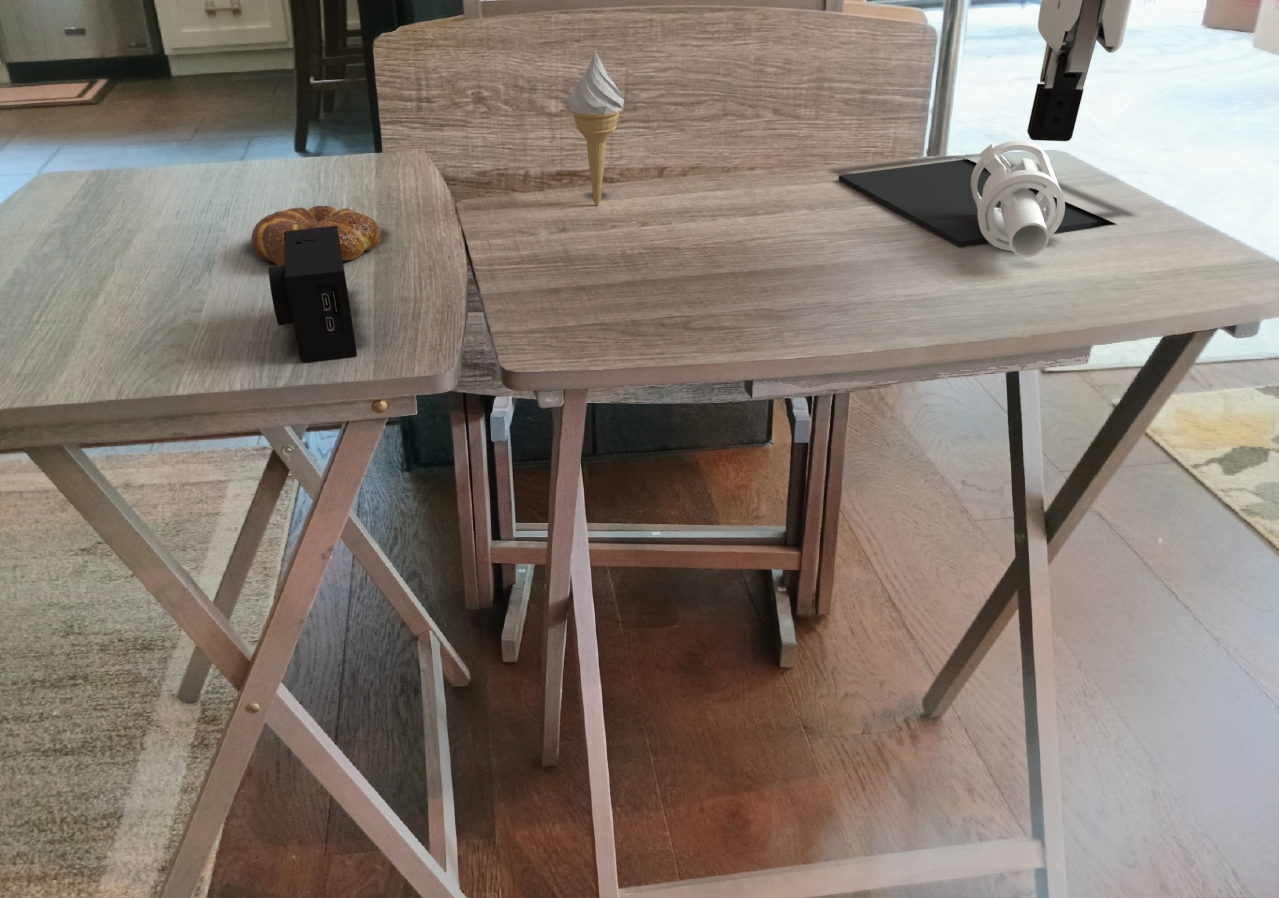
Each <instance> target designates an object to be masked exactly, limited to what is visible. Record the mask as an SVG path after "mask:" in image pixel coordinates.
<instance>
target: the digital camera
mask: <svg viewBox="0 0 1279 898" xmlns="http://www.w3.org/2000/svg"><path fill="white" fill-rule="evenodd" d="M284 260H285V265H281V266H278V265H273V266H268V280H269V288H270V295H271V298H272V299H271V300H272V305H273V310H274V315H275V319H276V322H277V325H278V326H279V327H280V326H287V325H293V328H294V332H295V338H296V345H297V350H298V355H299V360H300V362H301V363H309V362H317V361H325V360H334V359H341V358H342V359H343V358H351V357H357V356H358V351H357V346H356V345H357V344H356V339H355V332H354V331H355V330H354V324H353V317H352V311H351V303H350V298H349V292H348V284H347V278H346V273H345V272H346V271H345V265H344V261H343V259H342V252H341V246H340V239H339V233H338V227H337V226H330V227H320V228H311V229H301V230H291V231H285V232H284Z"/></svg>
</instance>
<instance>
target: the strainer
mask: <svg viewBox="0 0 1279 898" xmlns="http://www.w3.org/2000/svg"><path fill="white" fill-rule="evenodd" d="M1013 151H1023V152H1029V153H1031V154H1033V155H1035V156H1036V157H1037V160H1038V162H1036V161H1035V160H1034V159H1031V158H1027V157H1022V160H1021V161H1019V162H1017V163H1016V164H1014V166H1012V165H1011V163H1010V162H1009V161H1008V159H1006V157H1005V156H1003V155H1002V154H1004V153H1009V152H1013ZM980 155H981V157H980V159H979V160H978V161H977V162H976V163H977V164H976V166H975V168H974V170H973V173H972V177H971V190H972V194H973V198H974V200H975V202H976V204H977V209H978V213H977V215H978V222H979V227H980V230H981V232H982V234H983V236H984V237H985V238H986V240H987V241H988V242H990V243H989V244H991V245H992V246H993V247H996V248H998V249H1001V250H1004V251H1010V252H1012V253H1013V254H1014V255H1016V256H1018V257H1021V258H1030V257H1034V256H1036V255H1039V254H1040V253H1042V252H1043V251H1044V250H1045V249H1046V247H1047V246H1048V243H1049V242H1050V241H1049V240H1050V238H1051V237H1052V236H1053V235H1054V234H1055V233H1054V232H1055V231H1056V230H1057V229H1058V227H1059V226H1060V224H1061V222H1062V219H1063V217H1064V213H1065V202H1066V200H1065V197H1064V194H1063V191H1062V189H1061V186H1060V185H1059V182H1058V179H1057V177H1056V174H1055V173H1054V169H1053V166H1052V163H1051V160H1050V158H1049V156H1048V154H1047V153H1046V152H1045V150H1044V149H1043V148H1042V147H1040V146H1039V145H1037V144H1035V143H1034V142H1030V141H1026V140H1010V141H1006V142H1002V143H1000V144H997V145H995V146H994V145H993V144H990V145H988V146H986V148H984V149H983V150H982V151H981V152H980ZM1011 166H1012V168H1011ZM984 167H985V168H986V169H987V170H988V171H989V172H990V173H991V175H990V176H989V178H988V179H987V181H986V183H985V185H984V188H983V193H982V198H981V197H980V195H979V193H978V191H977V184H978V179H979V176H980V174H981V172H982V170H983V169H984ZM1010 168H1011V169H1010ZM1029 188H1033V189H1036V190H1039V192H1038V193H1037V195H1036V196H1035V194H1034V193H1033V192H1032V191H1030V190H1028V189H1029ZM1053 196H1054V197H1056V198H1057V209H1056V206H1055V201H1054V198H1053ZM999 200H1000V201H1001V207H1000V208H996V207H995V206H996V204H997V203H998V201H999ZM1047 205H1048V206H1047ZM1046 207H1047V209H1046ZM1045 209H1046V210H1045ZM1055 210H1056V212H1055Z"/></svg>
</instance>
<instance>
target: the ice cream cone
mask: <svg viewBox="0 0 1279 898" xmlns="http://www.w3.org/2000/svg"><path fill="white" fill-rule="evenodd" d="M622 97H623V94H622V93H621V91H620V90H619V88H618V87H617V85H616V84H615V82H614V81H613V80H612V79H611V76H610V74H609V73H608V71H607V70H606V68H605V66H604V65H603V62H602V61H601V58H600V56H599V55H598V52H597V51H596V50H595V51H594V53H593V55H592V58H591V60H590V62H589V64H588V66H587V68H586V70H585V71H584V73H583V75H582V76H581V78H580V80H579V81H578V83H577V84H576V86H575V88H574V89H573V90H572V93H571V95H570V96H569V97H568V99H567V102H568V107H569V112H570V113H571V114H572V115H573V116H572V117H573V119H574V123H575V125H576V126H575V128H576V131H577V130H578V131H579V133H581V135H582V136H583V137H584V139H585V141H586V150H587V160H588V166H589V177H590V183H591V191H592V200H593V204H594V205H595V206H599V205H600V203H601V199H602V188H603V181H604V180H603V179H604V171H605V163H606V162H605V160H606V149H607V140H608V138H609V137H610V135H611V134H612V133H613V131H614V130H616V129H617V123H618V120H619V117H620V113H621V112H622V111H623V109H624V104H625V99H624V98H622Z"/></svg>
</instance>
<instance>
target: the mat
mask: <svg viewBox="0 0 1279 898" xmlns="http://www.w3.org/2000/svg"><path fill="white" fill-rule="evenodd" d="M977 163H978V162H976V161H973V160H971V159H968V158H965V159H964V158H963V159H957V160H949V161H940V162H933V163H925V164H924V163H923V164H918V165H909V166H901V167H893V168H885V169H878V170H870V171H862V172H855V173H853V172H852V173H846V174H839V175H838V180H837V181H838V182H840V183H842V184H844V185H845V186H847V187H849V188H851V189H853V190H855V191H857V192H858V193H859V194H862V195H864V196H866V197H867V198H869V199H870V200H872V201H874V202H876V203H878V204H879V205H882V206H883V207H885V208H887V209H889V210H891V211H892V212H894V213H896V214H898V215H900V216H901V217H903V218H905V219H907V220H909V221H911V222H912V223H914V224H916V225H918V226H920V227H921V228H923V229H925V230H927V231H928V232H930V233H932V234H934V235H936V236H938V237H940V238H941V239H943V240H944V241H947V242H948V243H950V244H952V245H954V246H956V247H958V248H965V247H966V248H967V247H973V246H980V245H986V244H991V243H990V242H988V241H987V240H986V238H985V237H984V236H983V234H982V232H981V230H980V227H979V222H978V215H977V213H978V209H977V204H976V202H975V200H974V198H973V194H972V190H971V177H972V173H973V170H974V168H975V166H976V164H977ZM990 175H991V173H990V172H989V171H988V170H987V169H986V168H985V167H984V169H983V170H982V172H981V174H980V176H979V179H978V184H977V191H978V193H979V195H980V197H981V198H982V193H983V188H984V185H985V183H986V181H987V179H988V178H989V176H990ZM1028 190H1030V191H1032V192H1033V193H1034V194H1035V196H1036V195H1037V193H1038V192H1039V190H1036V189H1033V188H1029V189H1028ZM1053 198H1054V201H1055V206H1056V209H1057V197H1056V196H1055V195H1054V196H1053ZM1047 206H1048V205H1047ZM995 207H996V208H1000V207H1001V201H1000V200H999V201H998V203H997V204H996V206H995ZM1046 209H1047V207H1046ZM1046 209H1045V210H1046ZM1055 212H1056V210H1055ZM1114 225H1117V223H1115V222H1113V221H1111V220H1109V219H1106V218H1104V217H1102V216H1100V215H1097V214H1095V213H1093V212H1090V211H1088V210H1085V209H1083V208H1081V207H1079V206H1077V205H1074V204H1072V203H1069V202H1068V201H1065V213H1064V217H1063V219H1062V222H1061V224H1060V226H1059V227H1058V229H1057V230H1056V231H1055V232H1054V234H1059V233H1065V232H1073V231H1079V230H1087V229H1092V228H1099V227H1106V226H1114Z"/></svg>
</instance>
